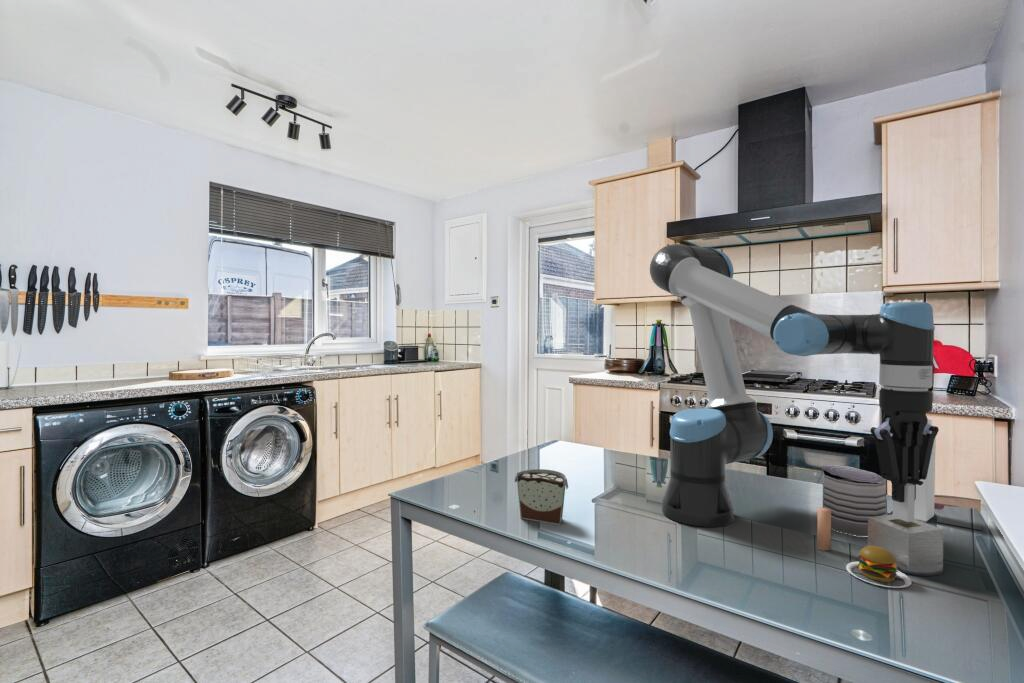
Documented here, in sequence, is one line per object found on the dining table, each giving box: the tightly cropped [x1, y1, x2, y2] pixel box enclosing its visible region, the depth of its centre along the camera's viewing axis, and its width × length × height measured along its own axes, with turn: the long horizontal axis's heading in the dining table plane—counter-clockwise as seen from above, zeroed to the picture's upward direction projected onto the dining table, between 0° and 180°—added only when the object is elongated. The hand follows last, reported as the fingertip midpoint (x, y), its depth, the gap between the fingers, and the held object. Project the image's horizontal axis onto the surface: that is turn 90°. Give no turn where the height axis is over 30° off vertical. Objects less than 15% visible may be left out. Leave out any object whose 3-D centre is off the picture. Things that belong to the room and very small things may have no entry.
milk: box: [914, 418, 937, 523], centre depth 112 cm, size 6×6×22 cm
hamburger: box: [845, 545, 912, 589], centre depth 85 cm, size 12×12×6 cm
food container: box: [514, 468, 569, 526], centre depth 112 cm, size 12×6×10 cm, turn 65°
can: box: [820, 464, 888, 536], centre depth 106 cm, size 11×11×12 cm
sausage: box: [816, 507, 832, 551], centre depth 95 cm, size 2×2×8 cm
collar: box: [867, 514, 944, 568], centre depth 90 cm, size 8×8×6 cm
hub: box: [866, 526, 944, 577], centre depth 90 cm, size 11×11×6 cm
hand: (903, 518), depth 90 cm, fingers closed
